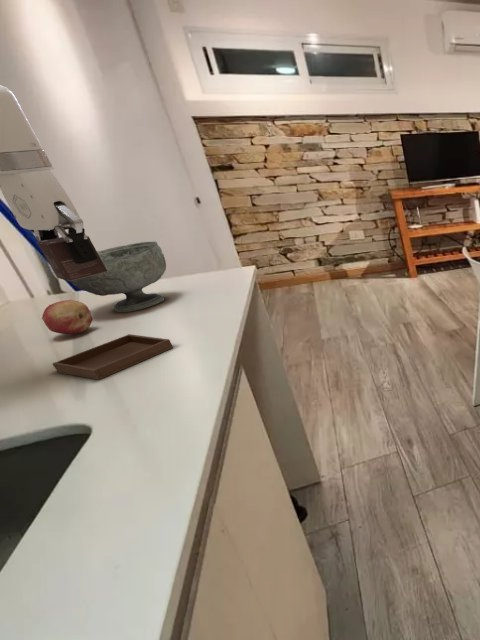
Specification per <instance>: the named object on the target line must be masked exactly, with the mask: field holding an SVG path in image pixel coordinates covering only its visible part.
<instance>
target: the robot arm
mask: <svg viewBox="0 0 480 640" xmlns="http://www.w3.org/2000/svg"><path fill="white" fill-rule="evenodd" d="M53 170H55V168H54V166H53V163H52V162H51V161H50V158H49V156H48V154H47V153H46V151H45V149H44V148H43V146H42V143H41V142H40V140H39V137H38V136H37V134H36V133H35V130H34V129H33V127H32V124H31V123H30V121H29V120H28V118H27V115H26V114H25V112H24V110H23V109H22V106H21V105H20V102H19V101H18V99H17V97H16V95H15V94H14V93H13V92H12V90H11V89H10V88H8V87H7V86H5V85H1V84H0V191H1V194H2V195H3V197H4V199H5V201H6V203H7V206H8V207H9V209H10V211H11V213H12V214H13V217H14V218H15V220H16V222H17V223H18V225H19V226H20V228H23V229H24V230H28V231H29V230H30V232H31V233H32V234H34V236H35V239H36V240H37V242H40V241H44V240H49V239H54V238H60V236H61V237H63V238H64V240H65V241H66V242H67V243H64V244H65V246H66V248H67V249H68V251H69V253H70V255H71V256H72V258H73V260H74V262H75V263H76V264H81V263H85V262H89V261H93V260H96V259H97V256H96V255H95V253H94V251H93V249H92V247H91V245H90V243H89V242H88V240H87V239H88V238H87V236H88V235H87V234H86V231H85V228H84V220H83V219H82V218H81V217H80V214H79V212H78V211H77V209H76V207H75V205H74V203H73V201H72V199H71V198H70V196H69V195H68V193H67V191H66V190H65V188H64V186H63V185H62V183H61V182H60V181H59V179H58V177H57V176H56V174H55V173H54V172H53ZM66 230H67V231H66Z"/></svg>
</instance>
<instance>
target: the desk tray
mask: <svg viewBox="0 0 480 640" xmlns="http://www.w3.org/2000/svg"><path fill="white" fill-rule="evenodd" d="M171 349H174V345H173V344H172V342H171V340H170V338H169V339H168V338H161V337H153V336H145V335H138V334H130V333H129V334H126V335H123V336H121V337H118V338H116V339H115V338H114V339H112V340H110V341H107V342H105V343H102V344H99V345H97V346H94V347H92V348H89V349H86V350H84V351H81V352H79V353H76V354H73V355H71V356H68V357H65V358H63V359H60V360H57V361H55V362H53V363H51V364H52V366H53V368H54V369H55V370H56V372H57V373H59V374H65V375H69V376H70V375H71V376H76V377H82V378H87V379H93V380H100V381H101V380H103V379H104V378H107V377H109V376H111V375H113V374H116V373H118V372H121V371H123V370H125V369H127V368H130V367H132V366H134V365H136V364H137V365H138V364H139V363H142V362H143V361H146V360H148V359H151V358H153V357H156V356H157V355H159V354H163V353H164V352H167V351H169V350H171Z"/></svg>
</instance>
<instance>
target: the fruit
mask: <svg viewBox="0 0 480 640" xmlns="http://www.w3.org/2000/svg"><path fill="white" fill-rule="evenodd" d="M41 319H42V321H43V323H44V325H45V327H46V328H47V329H48V330H49V331H51V332H52V333H56V334H61V335H71V336H72V335H78V334H81V333H83V332H85V331H86V330H87V329H89V327H90V326H91V325H92V323H93V317H92V314H91V311H90V309H89V307H88V305H86V304H85V303H83V302H81V301H78V300H74V299H64V300H60V301H56V302H54V303H51V304H48V305H47V306H46V307H45V309H44V311H43V313H42V316H41Z"/></svg>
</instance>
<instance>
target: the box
mask: <svg viewBox="0 0 480 640" xmlns="http://www.w3.org/2000/svg"><path fill="white" fill-rule="evenodd" d="M87 238H88V239H87V240H88V242H89V243H90V245H91V247H92V249H93V251H94V253H95V255H96V256H97V259H96V260H93V261H89V262H85V263H81V264H76V263H75V262H74V260H73V258H72V256H71V255H70V253H69V251H68V249H67V248H66V246H65V244H64V243H67V242H66V241H65V240H64V238H63V237H62V236H61V237H60V236H59V238H54V239H49V240H44V241H40V242H39V241H36V244H37V246H38V247H39V249H40V251H41V252H42V254H43V255H44V257H45V259H46V261H47V262H48V264H49V265H50V267H51V269H52V270H53V272H54V274H55V275H56V278H57V279H59V280H64V281H67V282H70V281H73V280H77V279H81V278H86V277H90V276H93V275H97V274H102V273H106V272H108V271H107V269H106V267H105V265H104V264H103V262H102V260H101V258H100V256H99V254H98V253H97V251H98V250H97V249H96V247H95V246H94V243H93V242H92V240H91V238H90V236H88V235H87Z"/></svg>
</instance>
